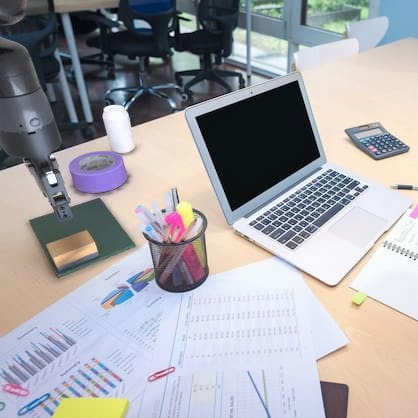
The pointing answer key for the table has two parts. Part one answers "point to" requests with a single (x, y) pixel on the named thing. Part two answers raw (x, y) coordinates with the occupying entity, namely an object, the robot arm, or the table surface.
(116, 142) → the beverage can
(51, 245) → the eraser
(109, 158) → the tape roll
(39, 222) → the chalkboard
